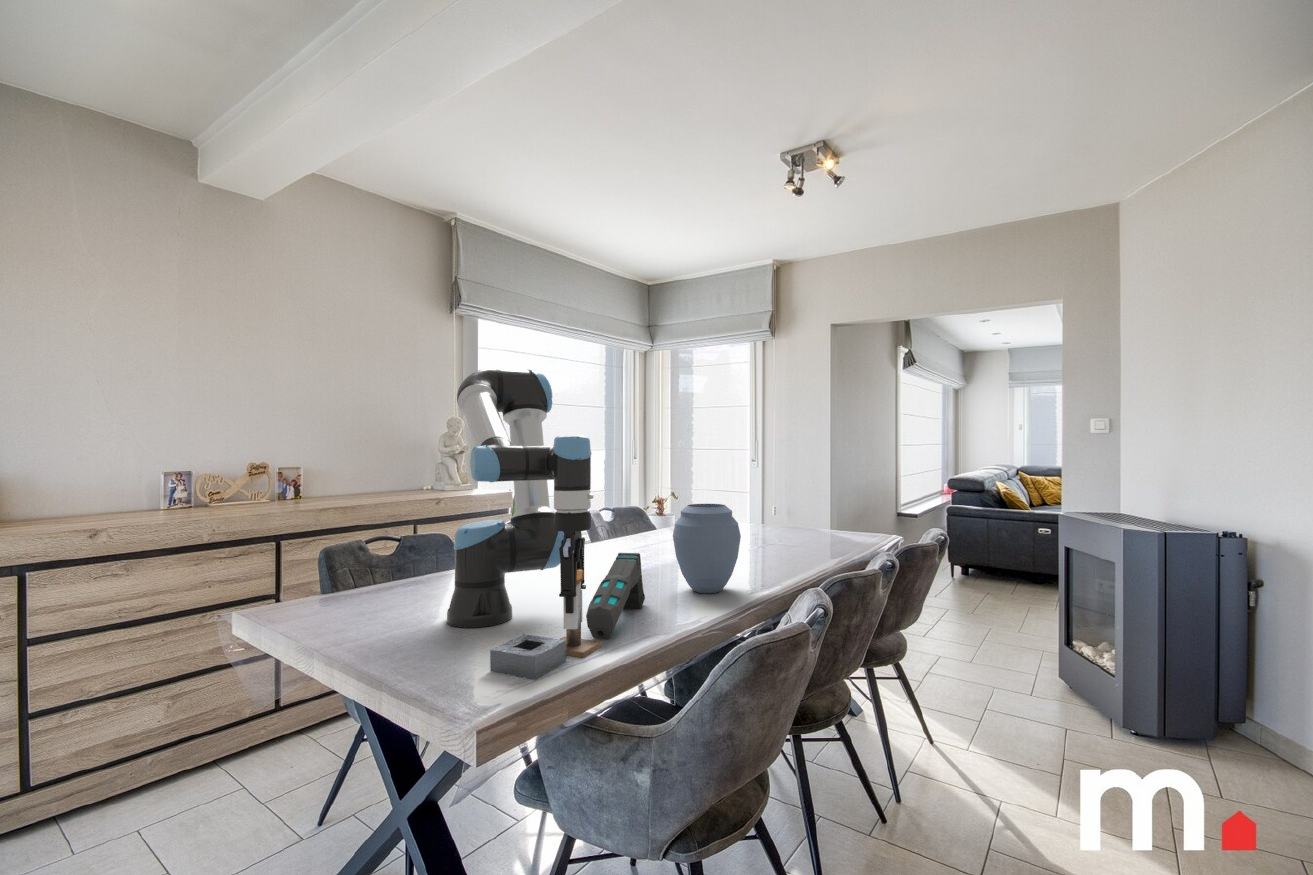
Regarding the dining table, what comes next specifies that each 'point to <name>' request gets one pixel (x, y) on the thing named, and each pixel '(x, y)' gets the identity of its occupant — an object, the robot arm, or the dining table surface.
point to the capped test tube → (575, 634)
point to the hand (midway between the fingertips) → (573, 624)
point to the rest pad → (582, 648)
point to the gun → (616, 595)
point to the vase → (706, 546)
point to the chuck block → (528, 656)
